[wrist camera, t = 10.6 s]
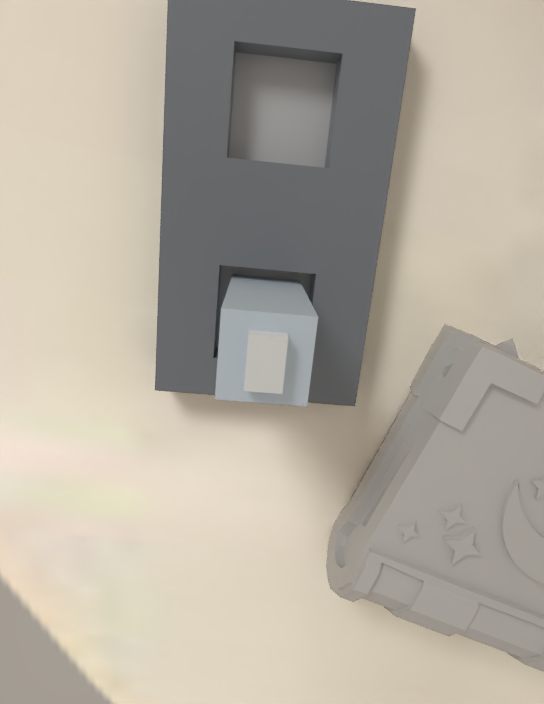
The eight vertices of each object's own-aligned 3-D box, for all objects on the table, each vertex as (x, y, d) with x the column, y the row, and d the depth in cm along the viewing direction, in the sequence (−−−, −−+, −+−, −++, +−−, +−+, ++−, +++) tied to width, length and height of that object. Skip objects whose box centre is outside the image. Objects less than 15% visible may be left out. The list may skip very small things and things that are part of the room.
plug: (232, 274, 30) (219, 312, 20) (299, 280, 31) (320, 321, 20) (227, 338, 32) (213, 406, 21) (292, 344, 32) (308, 414, 21)
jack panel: (176, -2, 27) (168, -22, 24) (402, 25, 27) (415, 8, 25) (162, 376, 33) (154, 390, 30) (348, 391, 33) (355, 406, 31)
